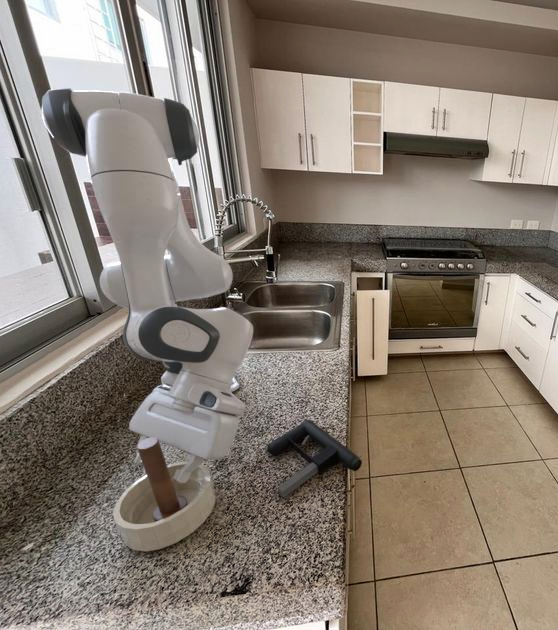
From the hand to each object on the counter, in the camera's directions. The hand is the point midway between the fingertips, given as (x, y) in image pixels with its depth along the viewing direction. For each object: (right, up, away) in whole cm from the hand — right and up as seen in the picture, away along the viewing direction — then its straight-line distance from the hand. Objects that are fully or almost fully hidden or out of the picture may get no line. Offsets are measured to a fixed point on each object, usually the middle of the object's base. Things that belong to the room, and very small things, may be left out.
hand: (159, 473), depth 58 cm
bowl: (0, -9, +4) cm, 10 cm away
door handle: (+20, -5, +16) cm, 26 cm away
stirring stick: (0, -9, +3) cm, 9 cm away
